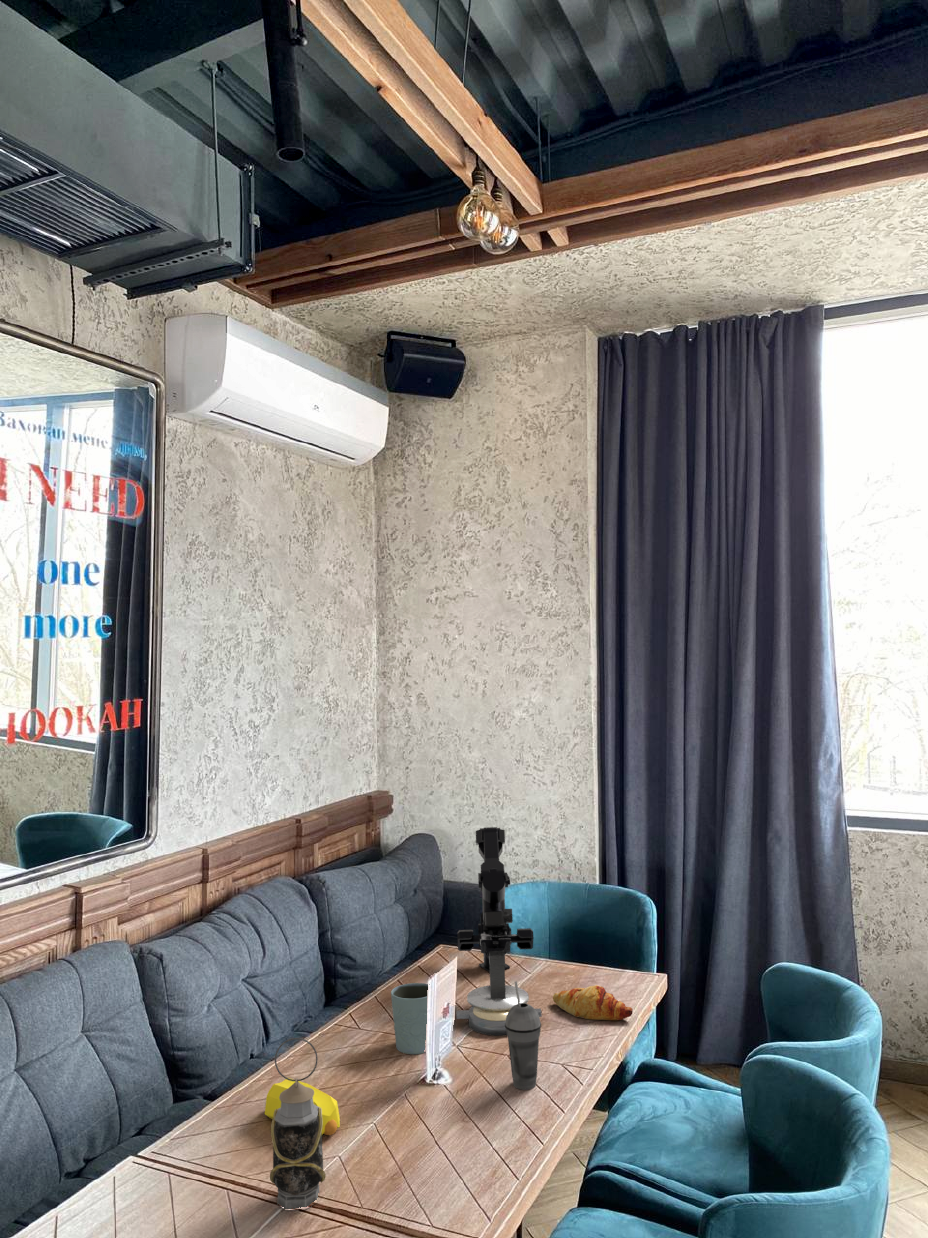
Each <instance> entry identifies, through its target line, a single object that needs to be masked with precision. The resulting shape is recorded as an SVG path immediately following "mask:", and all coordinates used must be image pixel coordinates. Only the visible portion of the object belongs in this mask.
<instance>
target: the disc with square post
mask: <svg viewBox="0 0 928 1238" xmlns="http://www.w3.org/2000/svg"><path fill="white" fill-rule="evenodd" d="M489 963H490V972H489V985H485V986H480V987H476V988H474V989H472V990H471V991H469V992H468V993H467V996H466V999H467V1000H466V1001H467V1003H468V1004H469V1005H470V1006H471V1007H472V1006H473V1007H475V1008H478V1009H482V1010H488V1011H506V1010H510V1009H511V1008H512V1007H513V1006H515V1005H516V1004H518V1002H517V995H516V988H515V985H508V984H506V969H505V964H506V960H505V961H504V951H489ZM518 991H519V998H520V1003H526V1004H528V1003H529V1001H530V1000H529V999H530V997H529V993H528V992H527V991H526V990H525V989H524V988H521V987H518Z"/></svg>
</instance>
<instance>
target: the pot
mask: <svg viewBox="0 0 928 1238" xmlns="http://www.w3.org/2000/svg"><path fill="white" fill-rule="evenodd" d="M534 1009H535V1010H536V1011H537V1013H538V1015H539V1018H542V1017H543V1013H542V1008H534ZM508 1012H509V1010H506V1011H488V1010H482V1009H478V1008H475V1007H473V1006H471V1007H470V1008H469V1009H467V1010H465V1009H464V1010H461V1009H460V1010H459V1009H458V1010H456V1013H455V1014H456V1016H455V1017H456V1019H457V1020H467V1019H468V1026H469V1028H470V1029H471V1030H472V1031H473V1032H476V1033H477V1034H481V1035H485V1036H486V1035H487V1036H492V1037H493V1036H494V1037H499V1036H500V1037H501V1036H507V1033H506V1028H505V1023H506V1016H507V1014H508Z"/></svg>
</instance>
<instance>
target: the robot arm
mask: <svg viewBox="0 0 928 1238" xmlns="http://www.w3.org/2000/svg"><path fill="white" fill-rule="evenodd" d="M505 833H506V831H505V829H501V827H498V826H494V827H493V826H492V827H491V826H489V827H487V826H486V827H483V828H482V827H480V828H479V829H478V830H475V845H477V846H478V853H479V855H480V857H481V858H482V859H483V862H482V863H481V864H480V872H478V873H477V878H478V879H477V880H478V884H477V885H478V888H479V889H480V888H481V889H480V890H481V892H482V896H481V897H482V898H481V899H482V911H481V914H480V923H478V924H477V928H478V930H477V931H478V934H476V935H475V934H474V929H459V930H458V931H457V935H456V937H457V950H458V951H460V952H471V951H472V950H473V949H474V944H475V945H476V944H478V947H479V948H480V953H481V954H483V962H481V963H479V964H478V966H479V967H480V968H482V969H484V971H487V972H488V973H490V963H489V951H504V961H505V962H506V954H509V953H511V945H512V944H513V943H514V944H515V943H516V946H517V948H518V949H519V950H532V949H533V948H534V930H533V929H532V928H530V927H528V928H526V927H525V928H516V934H515V933H514V934H512V928H511V927H510V925H509V924H512V923H513V920H514V919H513V908H506V899H505V897H506V888H509V885H511V878H510V876H509V874H508V872H505V864H504V863H502V861H500V856H501V855H502V853H503V849H504V848H503V845H505V844H506V834H505ZM510 968H511V966H510V965H509V964H507V963H505V970H507V969H510Z"/></svg>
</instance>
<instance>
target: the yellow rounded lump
mask: <svg viewBox="0 0 928 1238" xmlns="http://www.w3.org/2000/svg"><path fill="white" fill-rule="evenodd" d="M288 1078H289V1079H293V1078H290V1077H288ZM293 1080H295V1078H294V1079H293ZM298 1082H299V1083H300V1084H302V1085H304V1086H305V1087H308V1088H311V1089H313V1090H314V1095H313V1104H314V1105H316V1106H318V1107H320V1108H321V1109H322V1119H323V1126H322V1136H323V1134H324V1135H326V1136H332V1135H335V1133H336V1132H337V1130H338V1129H339V1128H340V1127H341V1125H340V1122H341V1120H340V1117H341V1116H340V1112H339V1111H340V1110H339V1105H338V1100H336V1099H335V1098H334V1097H333V1096H331V1095H329V1094H328V1093H326V1092H324V1091H322V1090H320V1089H318V1088H316V1087H315V1086H313V1085H311V1084H310V1083H307V1082H303V1081H298ZM294 1083H295V1081H290V1080H287V1079H285V1078H284V1080H282V1081H281V1082H277V1083H276V1082H275V1083H273V1084H272V1086H271V1087H270V1089H269V1090H268V1092H267V1094H266V1098H265V1099H266V1100H265V1107H264V1115H265V1116H267V1118H270V1119H271V1120H273V1116H274V1111H275V1110H276V1109H279V1108H281V1101H280V1099H279V1096H280V1094H281V1093H282V1092H283V1091H284V1090H286V1089H288V1088H289V1087H290V1086H292V1085H293V1084H294Z"/></svg>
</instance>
